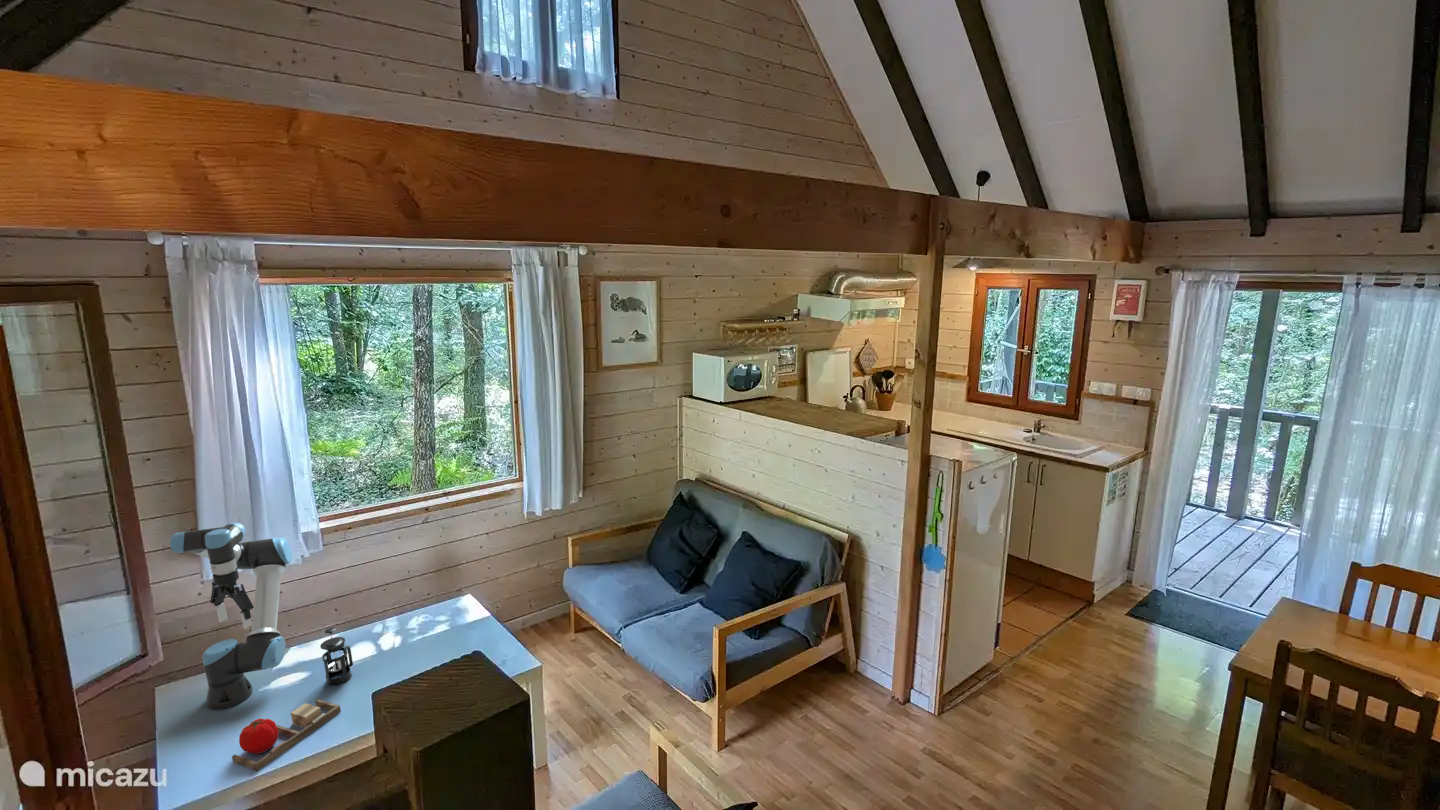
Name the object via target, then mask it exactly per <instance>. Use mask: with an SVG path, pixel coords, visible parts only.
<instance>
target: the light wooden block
mask: <svg viewBox="0 0 1440 810" xmlns="http://www.w3.org/2000/svg"><path fill="white" fill-rule="evenodd" d="M321 709H322V708H320V707H317V706H316V705H313V704H310V703H306V702H305V703H303V704H301V705H300V706H299V707H297V708H296V709H295V710H293V711H291V712H290V715H291V716H290V717H291V721H292V725H294V724H295V725H294V726H297V725H298V727H300V726H302V728H304V727H305V728H306V727H307V726H309V725H310V724H311V723H312V721H313V720H315V719H316V718H318V717H319V716H321V715H322V714H323V713H322V710H321Z"/></svg>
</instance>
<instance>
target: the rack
mask: <svg viewBox="0 0 1440 810" xmlns="http://www.w3.org/2000/svg"><path fill="white" fill-rule="evenodd" d="M314 704H315V705H314V706H317V707H320V708H321V709H324V710H327V712H326V713H324V712H323V713H321V714H322V715H321V716H319V717H318V718H316V719H315V720H313V721H312V723H311V724H310V725H309V726H307V727H306V728H304V727H303V729H301V730H299V731H298V730H296V729H291V728H289V727H285V726H282V725H279V724H278V725H276V726H277V728H278V735H282V736H286V737H289V738H288V740H286V741H281V742H280V743H279V744H278V745H276V746H275V747H273V748H272V749H271V750H270V751H269V753H267V754H265V756H263V757H262V758H260V759H259V760H258V761H254V760H251V759H248V758H247V757H243V756H240V755H237V754H233V755H231V760H232V763H233V764H237V765H239V766H242V767H244V768H248V769H250V770H252V771H256V772H258V771H259V770H261V769H262V768H264V767H265V766H266V765H268V764H269V763H270V762H272V761H273V760H275V759H276V758H277V757H279V756H281V755H282V754H284V752H286V751H287V750H289V749H291V748H292V746H294V745H295V744H297V743H299V742H300V741H301V740H303V739H304V738H306V737H307V736H308V735H310V734H311V733H313V731H315V730H317V729H318V728H319V727H321V726H323V724H325V723H327V722H328V721H329V720H330V718H331V719H332V718H333V717H335V716H336V715H338V714H339V713H340V712H341V710H342V709H341V706H340V705H338V704H336V703H332V702H330V701H329V702H328V701H325V700H321V699H319V698H317V699H314ZM337 713H338V714H337ZM334 715H335V716H334ZM327 720H328V721H327Z"/></svg>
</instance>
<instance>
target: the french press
mask: <svg viewBox="0 0 1440 810" xmlns="http://www.w3.org/2000/svg"><path fill="white" fill-rule="evenodd" d="M336 630H337V627H335V626H334V627H329V628H327V629H325V631H324V633H325V634H329V635H330V637H331V638H329V639H326V640H324V641H323V642H321V644H320V646H319V647H320V649H322V650H325V652H324V653H323V654H322V657H321V658H322V661H323V664H324V665H323V666H324V669H325V670H324V671H325V680H326V681H325V684H326V685H327V686H328V687H337V686H341V685H344V684H345V683H348V682H349V681H350V680H351V679H352V676H353V674H352V673H351V667H353V665H354V662H353V661H354V660H353V656H352V650H351V646H348V645H346V643H345V642H346V639H345V637H343V636H335V637H333V633H334V632H336ZM345 645H346V646H345ZM339 651H340V652H342V651H343V654H342V655H341V656H339V657H336V653H337V652H339ZM331 653H333V655H334V658H332V654H331ZM325 657H326V659H325ZM339 675H341V676H339ZM336 676H339V677H336ZM334 677H335V678H334Z"/></svg>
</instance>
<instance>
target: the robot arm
mask: <svg viewBox="0 0 1440 810" xmlns="http://www.w3.org/2000/svg"><path fill="white" fill-rule="evenodd" d="M246 534H247V533H246V527H245V526H244V525H243V524H241V523H239V522H230V523H227V524H226V525H225V526H220V527H213V528H205V529H196V530H189V531H182V532H181V531H180V532H176V533H173V534H172V535H171V537H170V540H169V545H170V550H171V551H172V552H173V553H175V554H181V553H182V554H184V553H191V554H195V555H197V556H200V557H204V558H207V559H208V560H209V564H210V565H209V566H210V570H211V574H212V580H213V581H212V582H211V588H212V589H211V594H210V601H209V602H210V604H211V605H212V604H213V606H215V610H216V614H217V619H218V623H222V622H223V623H224V621H227V620H228V619H229V618H228V613H227V610H226V609H227V608H226V603H225V598H226V596H228V597H229V598H230V599H233V601H234V602H235V604H236V605H237V607H238V608H239V609H240V616H241V621H242V622H241V623H242V627H243V629H248V628H249V627H251V632H250V633H249V634H247V636H246V637H245V638H246V639H245V642H240V643H239V642H238V640H237V639H236V638H228V639H224V640H220V641H218V642H216V643H214V644H212V645H211V646H209V647H208V648H207V649H205V650H204V652H203V654H202V665H203V668H204V672H205V676H206V680H207V681H206V682H207V685H208V688H207V693H206V698H205V703H206V707H207V708H208V709H209V710H213V711H214V710H215V711H218V710H224V709H228V708H231V707H234V706H237V705H238V704H241V703H243V702H244V701H245V700H247V699H249V697H251V696H252V694H253V692H254V691H253V684H252V683H251V682H250V681H249V679H248V678H247V676H246V675H245V673H252V672H256V671H257V672H258V671H265V670H268V669H273V668H276V667H278V666H279V665H280V664H281V663H282V661H283V659H284V656H285V653H286V639H285V638H284V636H281V632H280V631H278V630H277V628H278V616H279V602H280V589H281V580H282V579H281V576H282V573H283V572H284V571H286V568H287V567H286V566H287V565H289V564H291V563H292V560H293V557H292V556H293V555H292V549H291V546H290V543H289V541H288V540H287V539H286V538H284V537H272V538H267V539H257V540H252V541H243V542H242V540H243V538H245V536H246ZM238 570H252V572H253V573H254V574H255V575H256V579H255V581H256V582H255V591H254V598H253V599H254V600H253V601H254V602H253V603H252V601H251V599H250V597H249V596H248V595H249V594H247V592H246V590H245V587H244V584H242V583H240V584H238V583H237V581H238V579H239V577H240V575H239V571H238ZM251 610H252V611H253V612H252V616H251Z"/></svg>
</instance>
